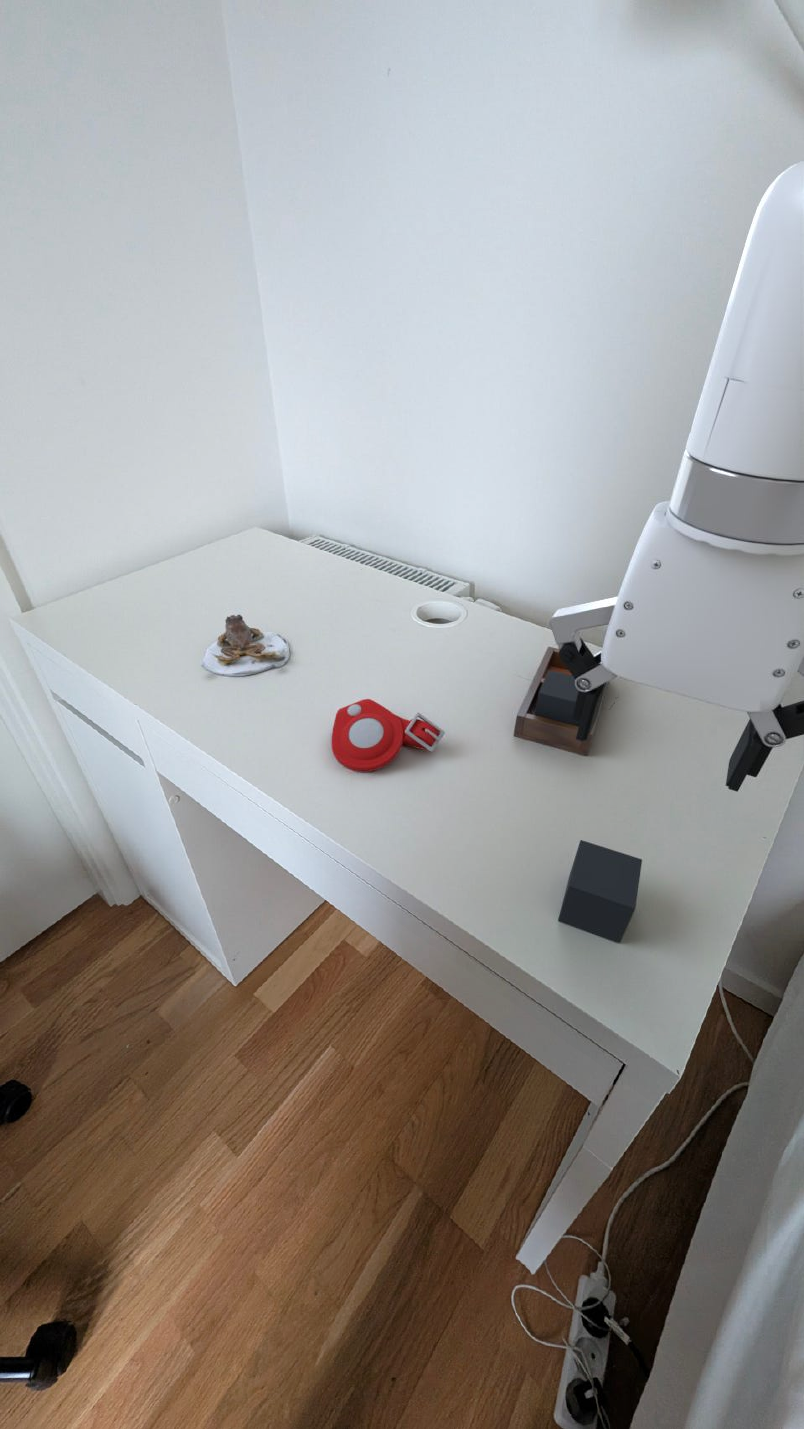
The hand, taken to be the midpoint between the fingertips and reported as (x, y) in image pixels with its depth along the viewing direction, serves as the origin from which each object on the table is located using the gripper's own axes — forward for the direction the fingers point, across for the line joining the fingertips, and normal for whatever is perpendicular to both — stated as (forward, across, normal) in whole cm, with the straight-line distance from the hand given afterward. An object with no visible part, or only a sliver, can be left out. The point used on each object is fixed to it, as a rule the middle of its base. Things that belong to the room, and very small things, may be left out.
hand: (656, 752), depth 39 cm
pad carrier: (+17, +10, -25) cm, 32 cm away
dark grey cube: (+17, +10, -21) cm, 29 cm away
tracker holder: (+17, +26, -8) cm, 32 cm away
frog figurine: (+18, +53, -15) cm, 58 cm away
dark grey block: (+17, 0, +1) cm, 17 cm away
